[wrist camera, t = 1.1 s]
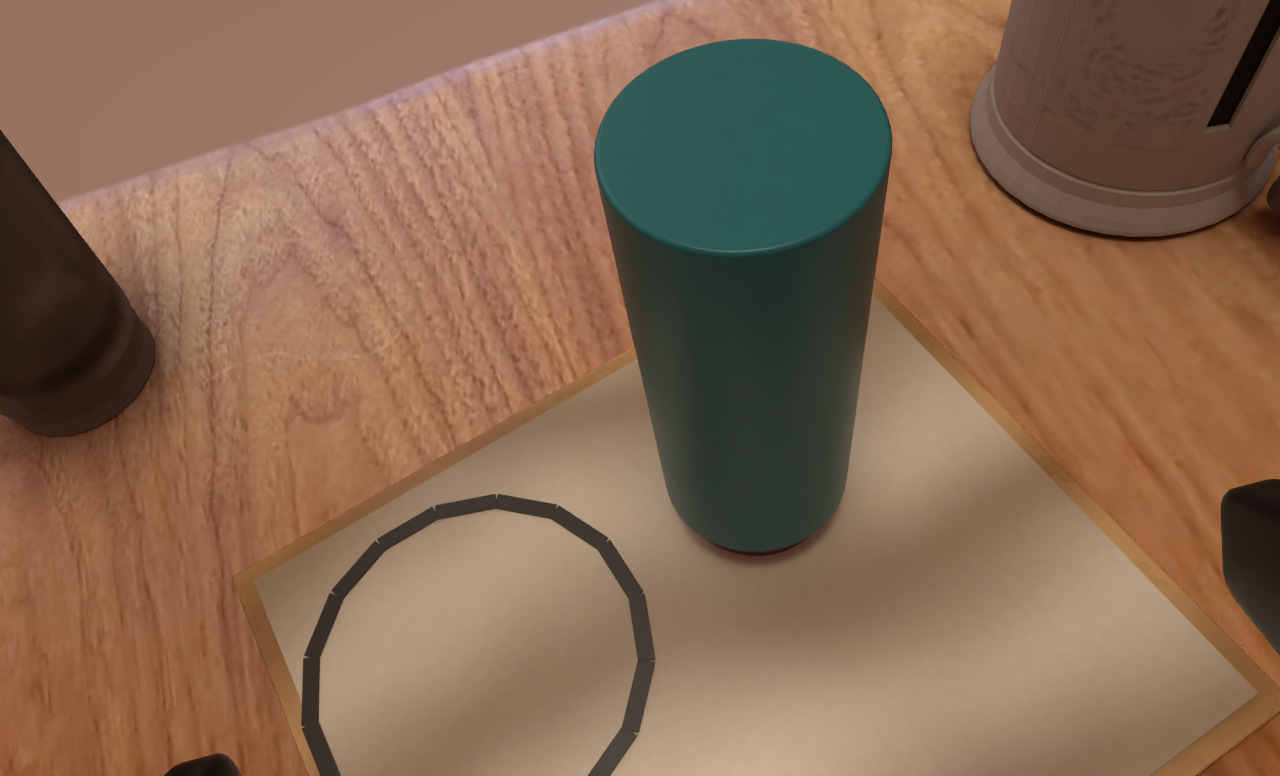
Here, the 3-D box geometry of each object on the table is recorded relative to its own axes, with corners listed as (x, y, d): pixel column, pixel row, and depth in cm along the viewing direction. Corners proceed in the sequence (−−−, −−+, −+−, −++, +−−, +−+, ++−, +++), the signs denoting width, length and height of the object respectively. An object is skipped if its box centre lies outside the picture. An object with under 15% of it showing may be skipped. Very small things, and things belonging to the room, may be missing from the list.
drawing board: (1281, 708, 21) (1298, 699, 21) (517, 1289, 18) (508, 1301, 17) (830, 244, 29) (832, 228, 29) (241, 585, 26) (227, 574, 25)
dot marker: (881, 506, 24) (958, 156, 14) (731, 602, 23) (696, 306, 13) (776, 381, 26) (775, -2, 16) (636, 465, 25) (541, 120, 15)
